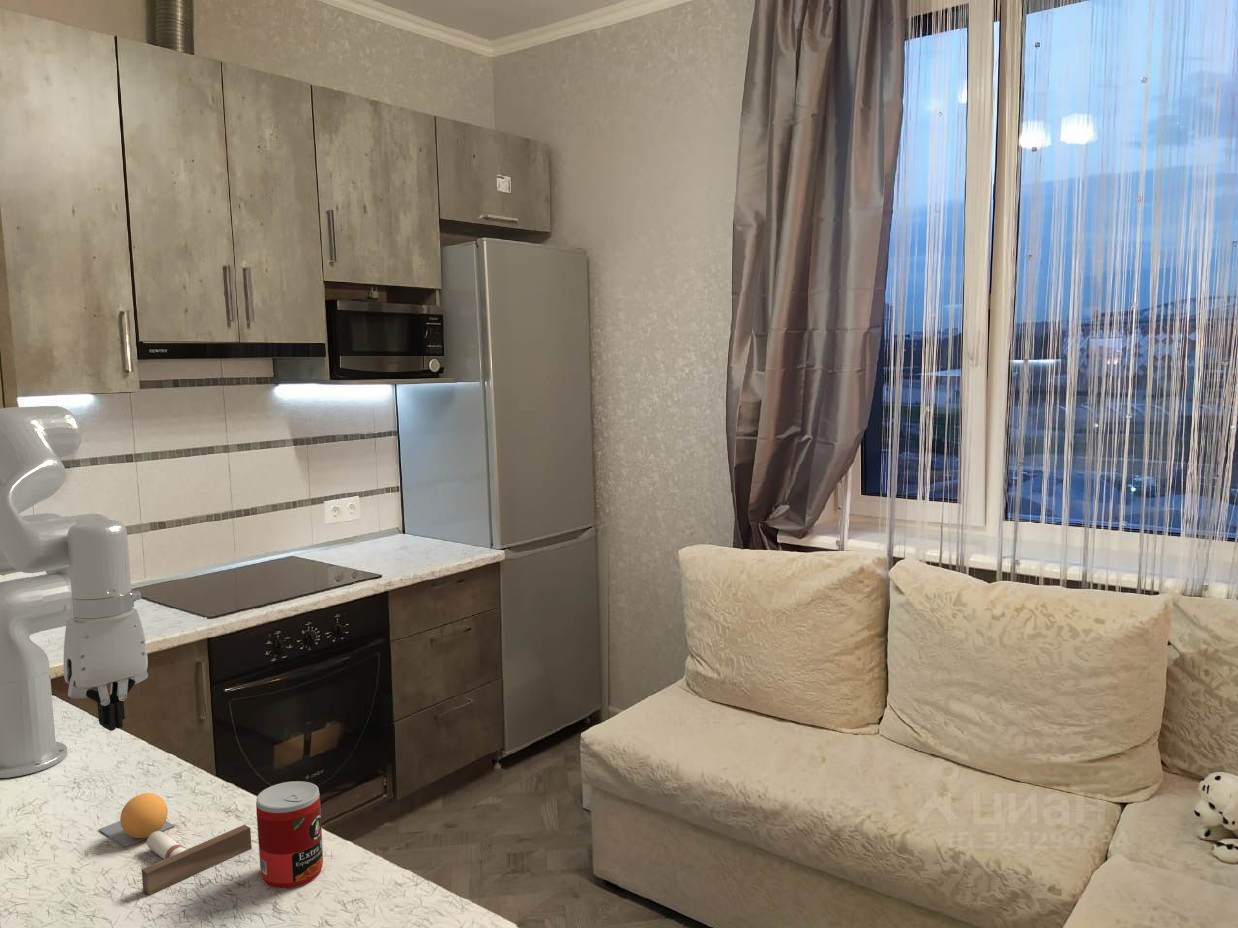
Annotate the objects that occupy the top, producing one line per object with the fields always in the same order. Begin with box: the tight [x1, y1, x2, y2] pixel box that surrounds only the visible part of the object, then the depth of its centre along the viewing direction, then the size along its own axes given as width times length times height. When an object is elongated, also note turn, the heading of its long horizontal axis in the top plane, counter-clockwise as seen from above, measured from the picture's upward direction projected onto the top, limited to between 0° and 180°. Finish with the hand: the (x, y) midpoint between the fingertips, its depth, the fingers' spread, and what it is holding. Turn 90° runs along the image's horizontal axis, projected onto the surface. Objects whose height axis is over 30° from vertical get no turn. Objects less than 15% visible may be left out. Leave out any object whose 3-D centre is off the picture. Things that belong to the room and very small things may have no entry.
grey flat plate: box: [98, 820, 175, 848], centre depth 131 cm, size 8×7×1 cm
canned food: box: [255, 780, 324, 890], centre depth 118 cm, size 8×8×11 cm
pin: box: [146, 831, 187, 860], centre depth 123 cm, size 2×2×8 cm
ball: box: [119, 792, 169, 839], centre depth 129 cm, size 6×6×6 cm
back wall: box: [141, 824, 253, 897], centre depth 120 cm, size 2×14×3 cm, turn 142°
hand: (112, 726), depth 133 cm, fingers closed
